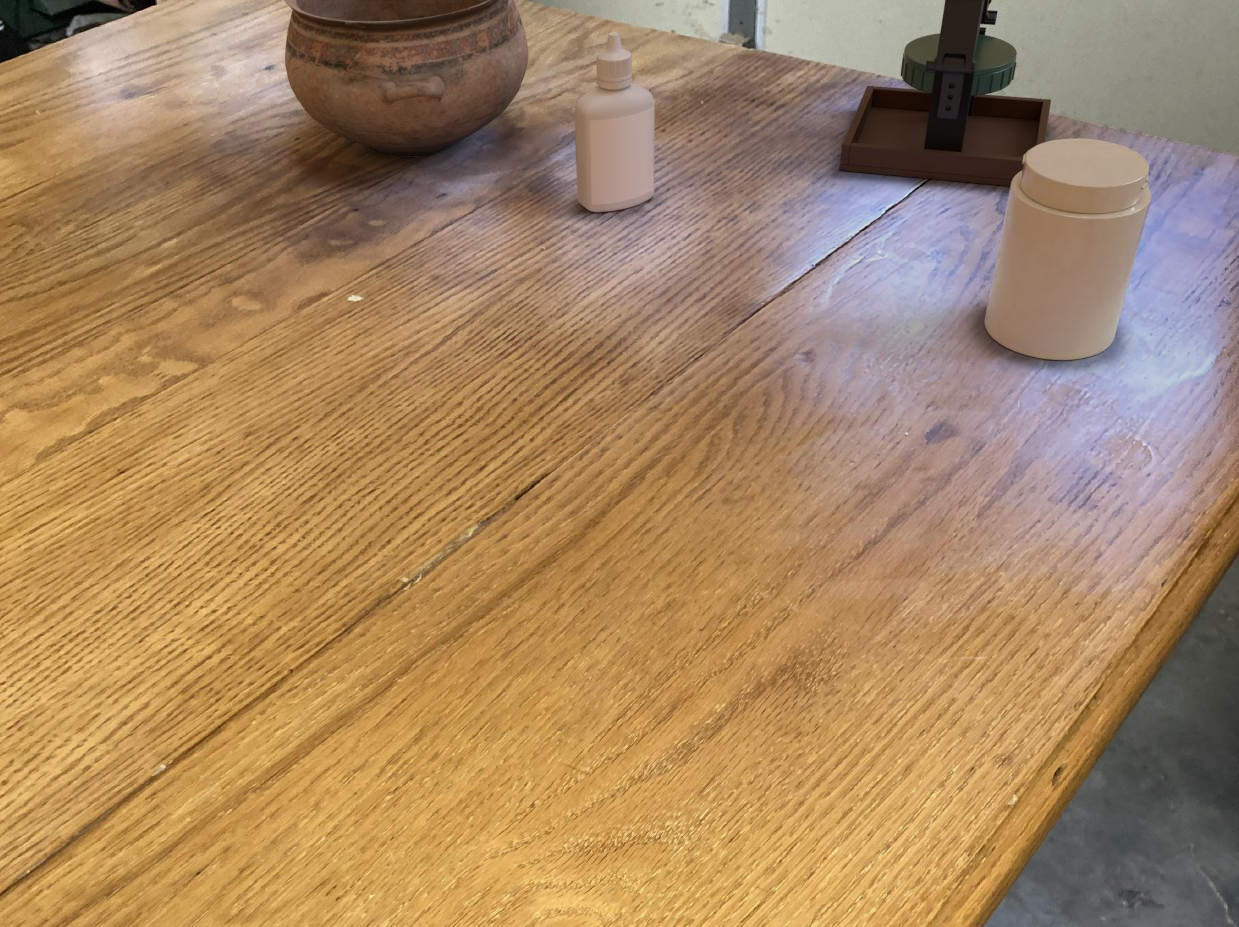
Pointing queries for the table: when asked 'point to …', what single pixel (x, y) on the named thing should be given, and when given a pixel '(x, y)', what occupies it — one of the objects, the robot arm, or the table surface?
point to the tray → (895, 146)
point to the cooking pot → (405, 68)
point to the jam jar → (1068, 248)
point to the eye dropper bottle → (615, 136)
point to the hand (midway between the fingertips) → (948, 133)
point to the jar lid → (990, 53)
